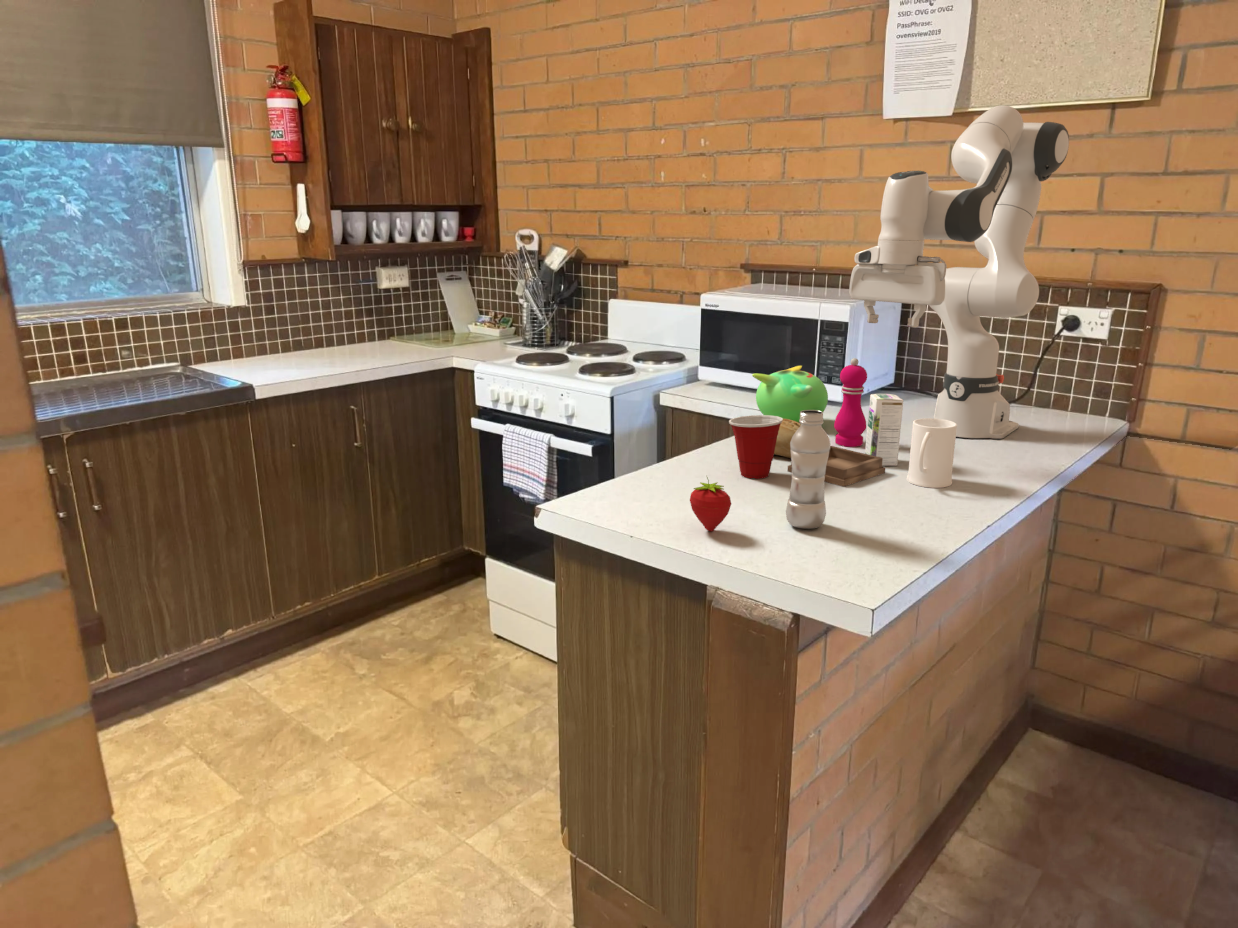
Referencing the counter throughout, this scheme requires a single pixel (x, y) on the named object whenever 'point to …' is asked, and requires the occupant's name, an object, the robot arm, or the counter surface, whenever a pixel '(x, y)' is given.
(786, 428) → the bread roll
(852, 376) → the pepper mill
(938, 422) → the mug
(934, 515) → the counter surface
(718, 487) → the strawberry
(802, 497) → the plastic bottle
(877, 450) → the syrup box
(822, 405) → the toy bird
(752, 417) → the plastic cup
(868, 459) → the walnut stand
